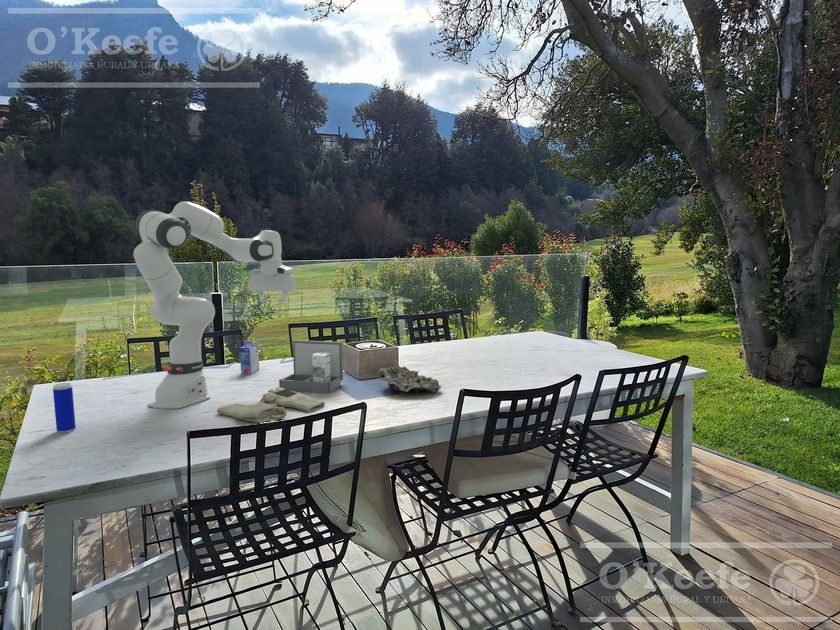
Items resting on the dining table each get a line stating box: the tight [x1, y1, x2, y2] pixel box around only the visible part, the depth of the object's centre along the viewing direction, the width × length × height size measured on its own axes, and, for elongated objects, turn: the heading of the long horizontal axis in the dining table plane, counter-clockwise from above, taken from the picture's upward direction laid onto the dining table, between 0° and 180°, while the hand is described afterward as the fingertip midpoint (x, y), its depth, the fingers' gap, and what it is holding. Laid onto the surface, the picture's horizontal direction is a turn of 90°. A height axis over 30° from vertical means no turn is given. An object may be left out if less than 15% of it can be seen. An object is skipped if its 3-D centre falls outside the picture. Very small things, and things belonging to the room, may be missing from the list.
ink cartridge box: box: [239, 339, 260, 375], centre depth 261 cm, size 10×6×14 cm, turn 174°
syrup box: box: [312, 352, 331, 383], centre depth 231 cm, size 6×6×14 cm
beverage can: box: [52, 382, 76, 434], centre depth 180 cm, size 5×5×15 cm
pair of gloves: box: [216, 386, 325, 424], centre depth 202 cm, size 30×26×5 cm
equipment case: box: [278, 339, 344, 394], centre depth 233 cm, size 14×22×18 cm, turn 76°
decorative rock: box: [377, 365, 442, 394], centre depth 229 cm, size 22×26×10 cm
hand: (272, 301), depth 241 cm, fingers open, 8 cm apart
